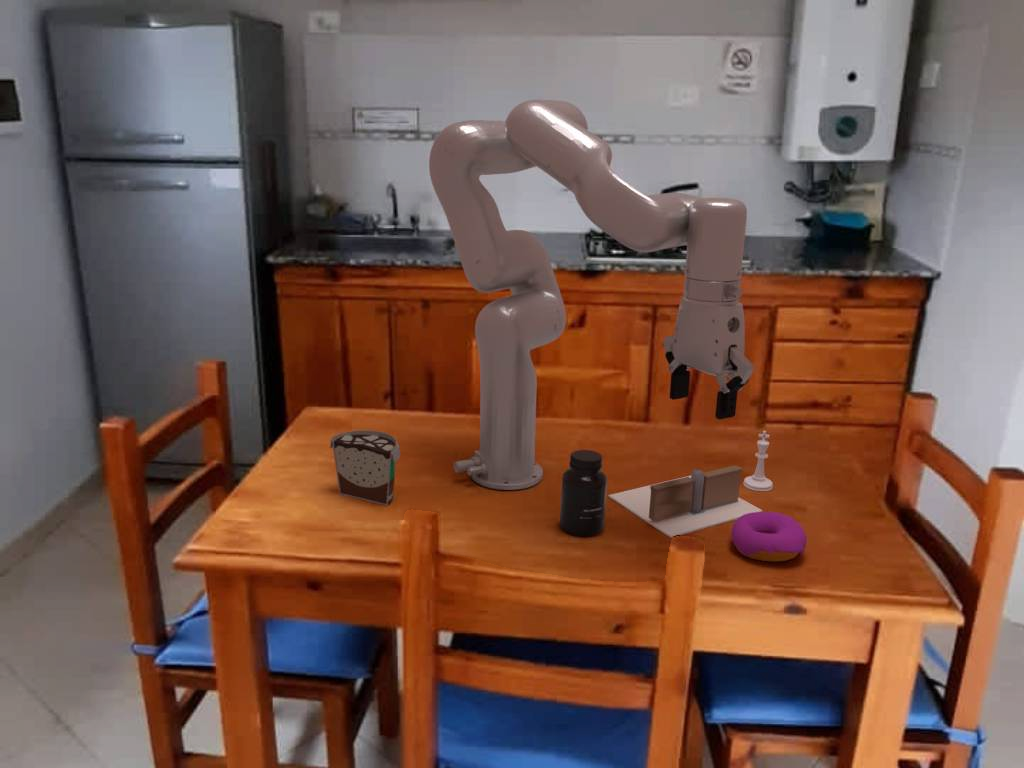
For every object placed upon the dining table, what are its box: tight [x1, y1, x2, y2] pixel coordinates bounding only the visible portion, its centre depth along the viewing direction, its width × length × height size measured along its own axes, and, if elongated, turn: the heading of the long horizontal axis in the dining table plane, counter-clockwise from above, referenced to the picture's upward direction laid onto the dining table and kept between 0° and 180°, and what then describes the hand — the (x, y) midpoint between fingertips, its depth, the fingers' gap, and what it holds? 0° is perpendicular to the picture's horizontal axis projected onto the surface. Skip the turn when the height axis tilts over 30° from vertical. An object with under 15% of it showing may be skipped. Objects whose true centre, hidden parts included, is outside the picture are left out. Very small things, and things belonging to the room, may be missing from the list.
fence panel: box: [649, 476, 695, 521], centre depth 132 cm, size 8×2×5 cm, turn 119°
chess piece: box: [742, 430, 774, 492], centre depth 144 cm, size 5×5×10 cm
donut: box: [730, 511, 807, 563], centre depth 124 cm, size 11×10×5 cm
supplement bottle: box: [559, 449, 608, 538], centre depth 128 cm, size 7×7×12 cm
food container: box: [329, 429, 401, 506], centre depth 138 cm, size 12×6×10 cm, turn 65°
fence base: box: [607, 464, 764, 539], centre depth 137 cm, size 19×16×7 cm
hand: (701, 407), depth 121 cm, fingers open, 9 cm apart
